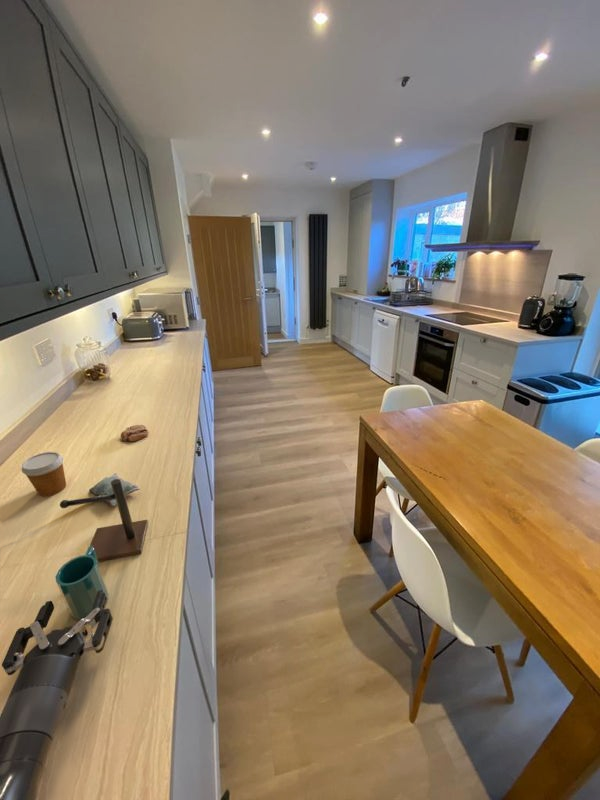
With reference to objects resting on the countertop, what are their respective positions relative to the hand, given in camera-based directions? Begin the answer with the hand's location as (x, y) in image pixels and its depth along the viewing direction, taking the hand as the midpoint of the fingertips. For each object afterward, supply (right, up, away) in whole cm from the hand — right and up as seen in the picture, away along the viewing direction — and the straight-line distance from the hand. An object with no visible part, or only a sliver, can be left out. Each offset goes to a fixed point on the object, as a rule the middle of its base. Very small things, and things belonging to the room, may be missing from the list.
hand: (76, 598), depth 61 cm
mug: (-1, -3, +7) cm, 8 cm away
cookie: (-23, +23, +66) cm, 74 cm away
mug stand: (-4, +2, +19) cm, 19 cm away
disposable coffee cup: (-31, +9, +35) cm, 48 cm away
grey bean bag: (-12, +9, +35) cm, 38 cm away
